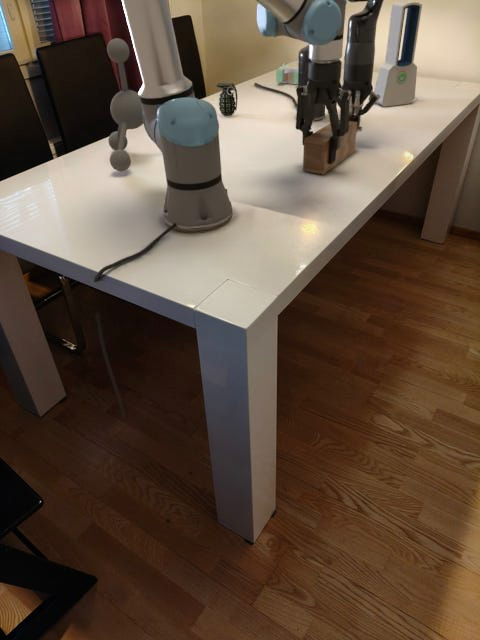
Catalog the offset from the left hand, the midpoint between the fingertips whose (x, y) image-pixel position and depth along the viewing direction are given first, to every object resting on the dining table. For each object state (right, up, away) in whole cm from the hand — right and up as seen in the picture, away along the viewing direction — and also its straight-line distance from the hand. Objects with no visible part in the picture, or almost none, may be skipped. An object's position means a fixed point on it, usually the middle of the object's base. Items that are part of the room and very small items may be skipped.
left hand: (320, 160), depth 125 cm
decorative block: (+7, +61, +81) cm, 102 cm away
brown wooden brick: (+3, +1, +5) cm, 6 cm away
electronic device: (+33, +36, +47) cm, 68 cm away
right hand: (+11, +12, +11) cm, 20 cm away
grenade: (-25, +30, +44) cm, 59 cm away
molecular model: (-48, +6, +15) cm, 50 cm away
